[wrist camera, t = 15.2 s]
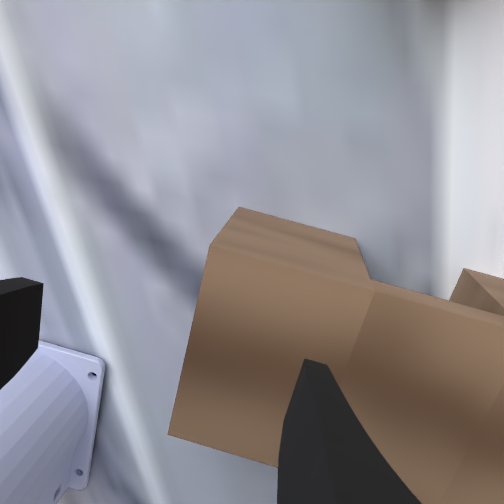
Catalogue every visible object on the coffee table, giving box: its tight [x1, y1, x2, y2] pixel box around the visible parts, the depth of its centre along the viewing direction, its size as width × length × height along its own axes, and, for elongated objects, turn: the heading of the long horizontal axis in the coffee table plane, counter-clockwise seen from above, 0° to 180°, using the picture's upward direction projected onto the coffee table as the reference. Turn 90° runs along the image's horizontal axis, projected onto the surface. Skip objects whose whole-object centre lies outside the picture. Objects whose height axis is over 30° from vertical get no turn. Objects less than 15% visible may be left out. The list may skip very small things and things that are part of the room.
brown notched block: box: [168, 207, 504, 504], centre depth 17 cm, size 8×16×6 cm, turn 76°
